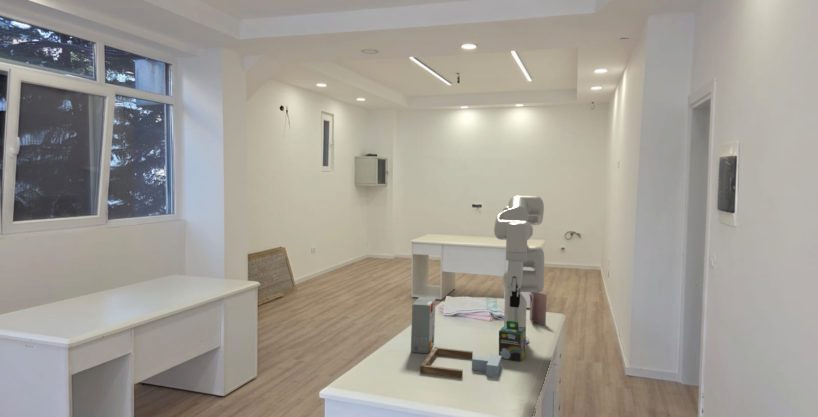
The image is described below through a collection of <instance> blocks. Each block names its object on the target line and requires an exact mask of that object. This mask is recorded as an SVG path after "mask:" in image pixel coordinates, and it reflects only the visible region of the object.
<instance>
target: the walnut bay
mask: <svg viewBox="0 0 818 417" xmlns="http://www.w3.org/2000/svg"><path fill="white" fill-rule="evenodd" d="M437 356H447V357H455V358H463V359H471V360H472V358H473V357H474V355H473V351H472V350H463V349H455V348H447V347H444V348H443V347H437V346H434V348H433V349H432V350H431V351H430V352H429V353H428V355H427V357H426V358H425V359H424V360H423V362H422V363H421V365H420V366H419V373H420V374H425V375H426V374H428V375H433V376H434V375H435V376H442V377H450V378H458V379H462V378H463V377H464V376H463V375H464V374H463V373H464V372H463V369H459V368H451V367H450V368H449V367H444V366H437V365H436V366H435V365H431V364H432V363H433V362H434V360H436V358H437Z"/></svg>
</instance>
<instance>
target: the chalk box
mask: <svg viewBox="0 0 818 417" xmlns="http://www.w3.org/2000/svg"><path fill="white" fill-rule="evenodd" d="M510 324H514V325H515V326H510ZM526 331H527V326H526V327H518V322H514V321H507V325H505V326H504V325H503V326H502V327H501V328H500V329H499V330H498V355H500V356H502V357H501V359H504V360H509V361H515V362H521V361H522V360H523V358H524V357H525V356H526V352H527V350H526V349H527V347H526V345H527V343H526V337H527V336H526V335H527V333H526Z"/></svg>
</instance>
